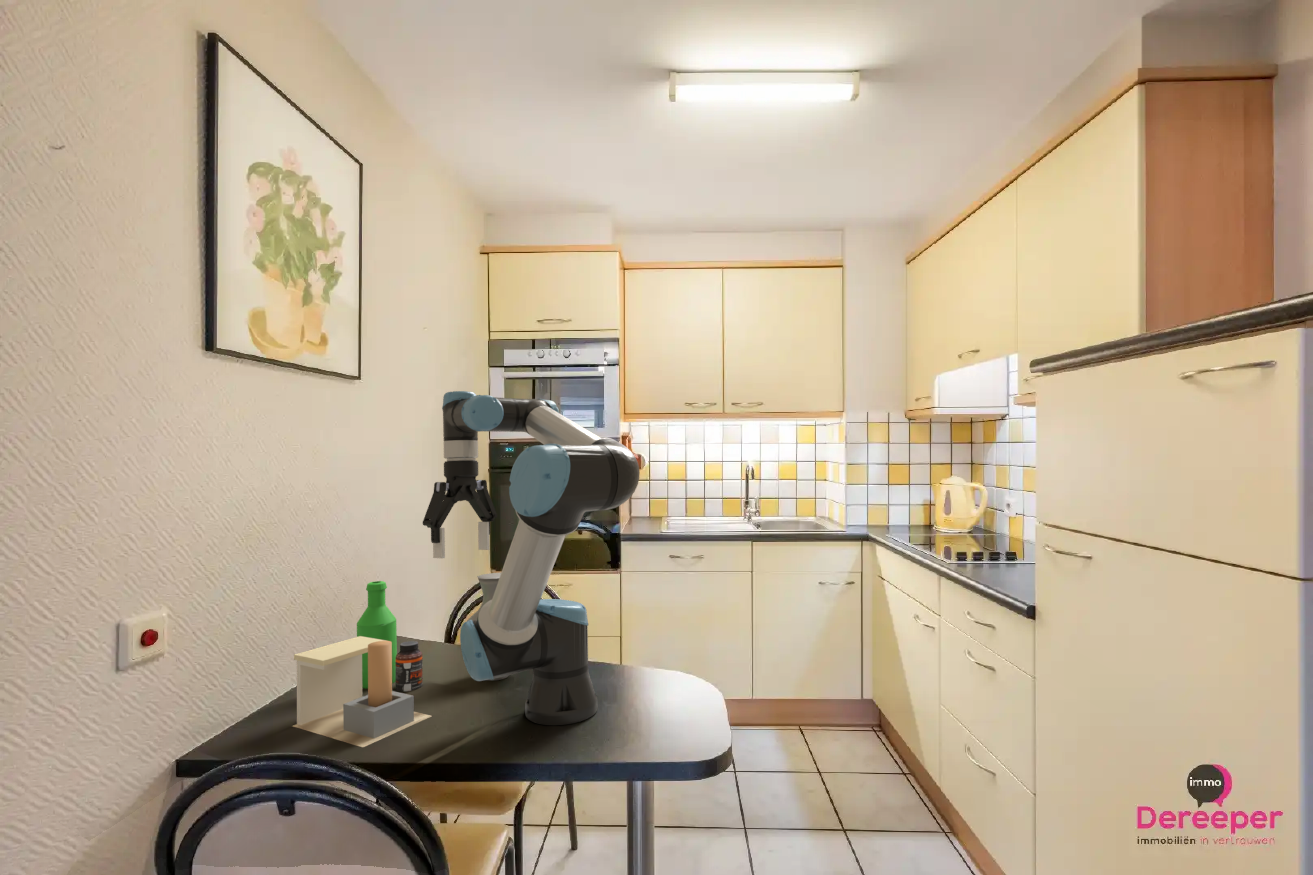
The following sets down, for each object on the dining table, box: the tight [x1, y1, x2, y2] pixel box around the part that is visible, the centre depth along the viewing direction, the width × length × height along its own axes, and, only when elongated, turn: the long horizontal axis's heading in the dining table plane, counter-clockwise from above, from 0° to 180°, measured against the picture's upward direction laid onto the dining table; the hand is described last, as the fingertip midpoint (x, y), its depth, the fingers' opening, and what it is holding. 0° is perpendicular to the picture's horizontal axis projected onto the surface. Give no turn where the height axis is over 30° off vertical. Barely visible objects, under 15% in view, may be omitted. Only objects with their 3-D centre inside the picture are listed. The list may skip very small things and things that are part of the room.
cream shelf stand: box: [293, 636, 386, 725], centre depth 133 cm, size 10×15×14 cm, turn 151°
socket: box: [343, 690, 415, 739], centre depth 127 cm, size 9×9×5 cm
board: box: [292, 709, 433, 748], centre depth 130 cm, size 22×16×1 cm
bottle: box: [356, 580, 398, 689], centre depth 154 cm, size 9×9×25 cm
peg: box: [367, 641, 393, 707], centre depth 128 cm, size 4×4×16 cm
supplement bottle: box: [395, 640, 424, 692], centre depth 149 cm, size 6×6×11 cm
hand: (462, 553), depth 144 cm, fingers open, 13 cm apart
